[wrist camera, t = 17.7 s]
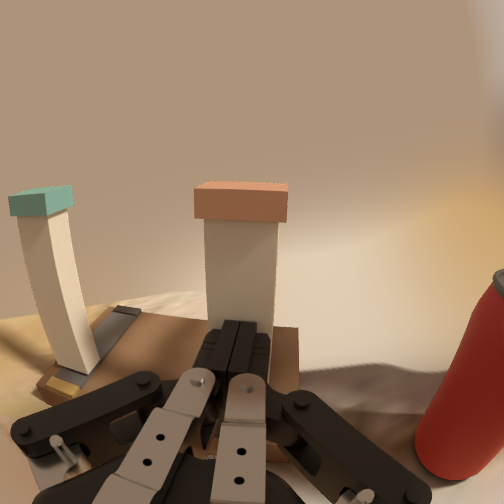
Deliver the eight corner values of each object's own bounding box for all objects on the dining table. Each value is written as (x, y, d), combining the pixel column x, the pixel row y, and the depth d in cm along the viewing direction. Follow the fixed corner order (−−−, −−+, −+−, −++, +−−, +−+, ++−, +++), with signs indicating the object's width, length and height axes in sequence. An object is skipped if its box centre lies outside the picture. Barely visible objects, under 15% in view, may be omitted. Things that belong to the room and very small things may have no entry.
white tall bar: (273, 386, 17) (287, 183, 13) (270, 414, 15) (287, 191, 11) (216, 380, 18) (209, 181, 14) (208, 407, 16) (193, 188, 11)
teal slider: (105, 357, 19) (71, 184, 15) (89, 378, 16) (44, 192, 12) (69, 347, 19) (34, 188, 15) (52, 365, 17) (8, 196, 13)
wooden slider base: (295, 346, 25) (298, 323, 25) (294, 462, 14) (299, 442, 13) (112, 323, 27) (107, 302, 26) (45, 402, 16) (33, 380, 15)
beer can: (402, 478, 12) (503, 310, 8) (416, 407, 17) (475, 256, 13) (486, 486, 9) (601, 331, 5) (486, 418, 14) (556, 276, 10)
